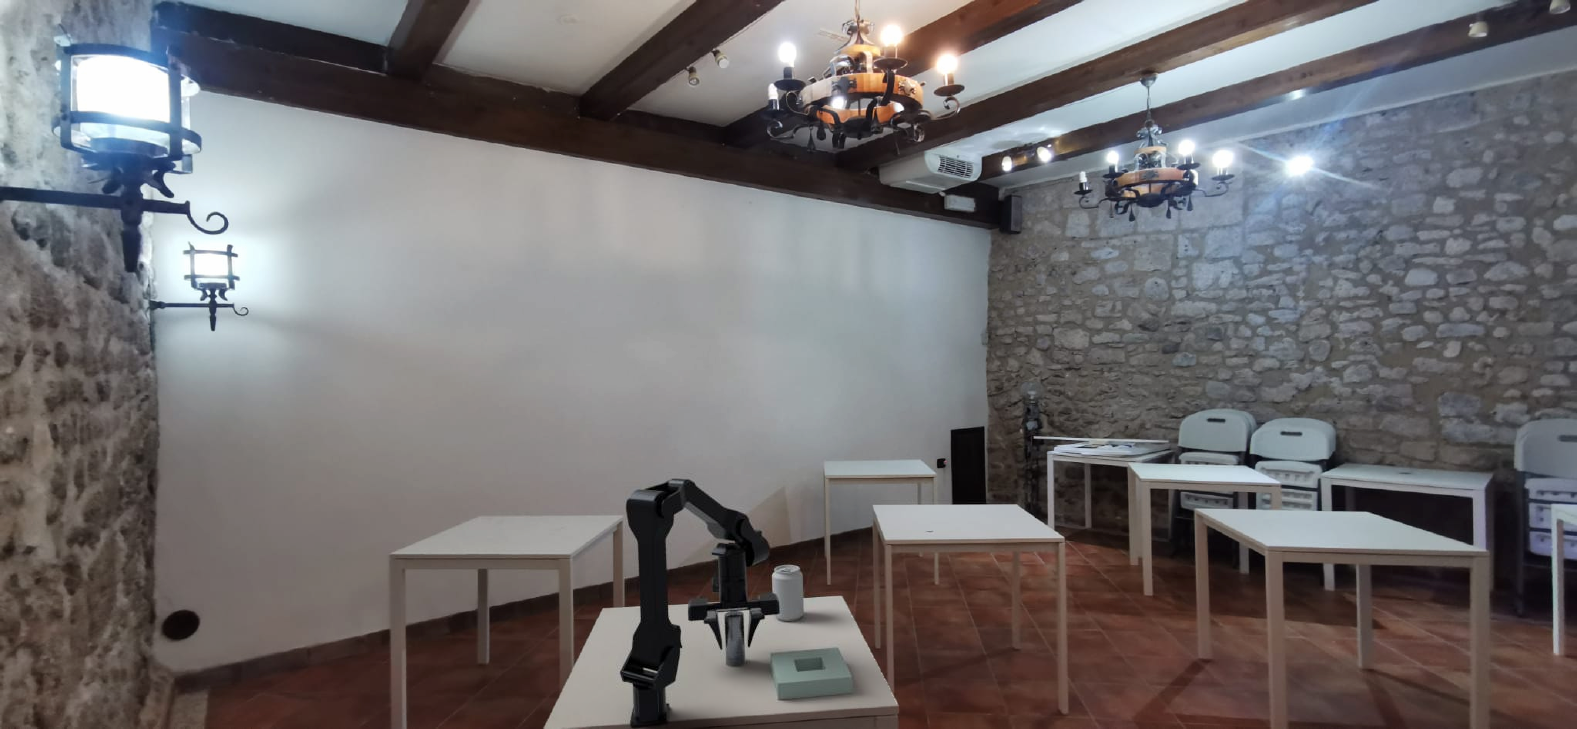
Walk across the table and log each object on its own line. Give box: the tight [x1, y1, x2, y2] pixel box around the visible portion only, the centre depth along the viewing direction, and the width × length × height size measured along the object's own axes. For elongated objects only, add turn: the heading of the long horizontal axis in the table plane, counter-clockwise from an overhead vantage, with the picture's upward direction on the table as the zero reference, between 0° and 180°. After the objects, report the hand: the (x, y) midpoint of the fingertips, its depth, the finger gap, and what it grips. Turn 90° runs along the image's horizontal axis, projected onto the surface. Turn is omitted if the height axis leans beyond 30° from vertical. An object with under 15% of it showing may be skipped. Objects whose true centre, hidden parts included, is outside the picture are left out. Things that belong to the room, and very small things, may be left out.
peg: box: [724, 611, 746, 668], centre depth 148 cm, size 4×4×10 cm
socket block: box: [770, 647, 854, 701], centre depth 138 cm, size 14×14×3 cm
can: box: [771, 564, 805, 622], centre depth 173 cm, size 8×8×12 cm
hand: (735, 647), depth 148 cm, fingers open, 5 cm apart
